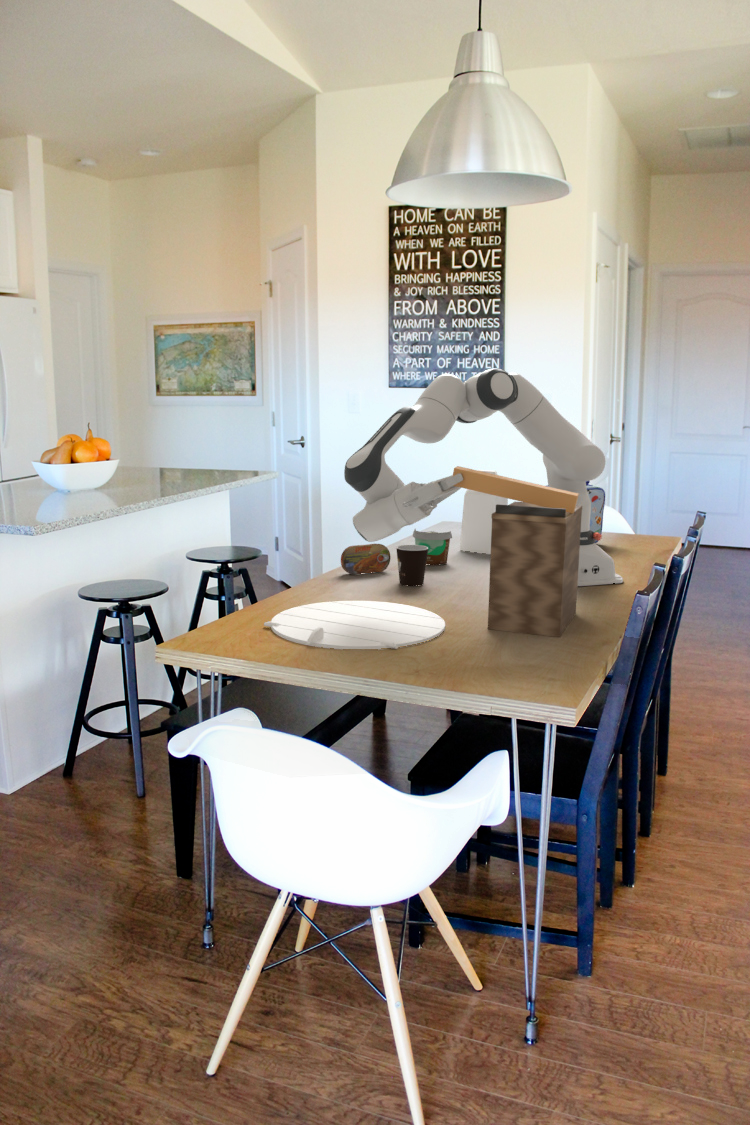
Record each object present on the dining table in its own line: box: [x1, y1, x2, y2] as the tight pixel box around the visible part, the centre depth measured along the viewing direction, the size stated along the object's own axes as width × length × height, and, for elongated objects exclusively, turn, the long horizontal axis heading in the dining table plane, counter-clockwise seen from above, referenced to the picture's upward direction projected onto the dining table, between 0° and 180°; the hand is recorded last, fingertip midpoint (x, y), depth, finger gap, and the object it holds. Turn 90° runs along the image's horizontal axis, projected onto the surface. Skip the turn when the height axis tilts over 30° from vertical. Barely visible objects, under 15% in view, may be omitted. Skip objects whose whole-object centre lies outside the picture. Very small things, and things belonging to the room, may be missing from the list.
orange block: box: [452, 465, 579, 514], centre depth 206 cm, size 28×4×4 cm, turn 73°
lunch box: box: [546, 480, 606, 544], centre depth 308 cm, size 28×10×22 cm, turn 123°
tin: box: [340, 543, 391, 576], centre depth 261 cm, size 15×3×8 cm, turn 118°
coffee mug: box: [395, 544, 428, 587], centre depth 249 cm, size 12×9×10 cm
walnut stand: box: [487, 501, 582, 638], centre depth 209 cm, size 16×23×28 cm
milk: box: [459, 469, 509, 555], centre depth 297 cm, size 12×12×26 cm
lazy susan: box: [263, 600, 446, 650], centre depth 206 cm, size 40×39×3 cm
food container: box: [412, 528, 453, 566], centre depth 275 cm, size 12×6×10 cm, turn 68°
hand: (465, 474), depth 208 cm, fingers closed on orange block, 4 cm apart
